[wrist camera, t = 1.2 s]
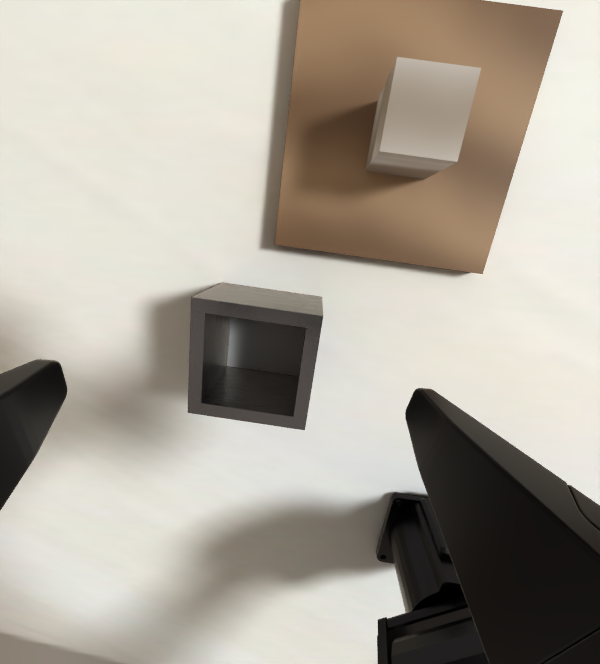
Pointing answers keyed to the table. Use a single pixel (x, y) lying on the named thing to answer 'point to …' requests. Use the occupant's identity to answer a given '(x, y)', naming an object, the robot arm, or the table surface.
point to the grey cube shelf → (243, 384)
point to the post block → (408, 126)
